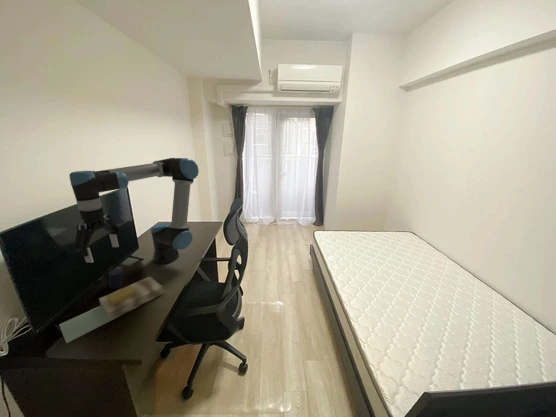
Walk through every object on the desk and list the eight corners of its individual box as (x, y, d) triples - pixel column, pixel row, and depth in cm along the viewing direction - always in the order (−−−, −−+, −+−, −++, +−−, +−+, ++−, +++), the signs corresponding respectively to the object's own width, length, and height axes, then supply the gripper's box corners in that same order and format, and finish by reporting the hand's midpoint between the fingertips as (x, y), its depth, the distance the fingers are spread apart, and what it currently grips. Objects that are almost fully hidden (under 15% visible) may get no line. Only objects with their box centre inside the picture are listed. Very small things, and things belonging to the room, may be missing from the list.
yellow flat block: (130, 289, 106) (129, 285, 105) (135, 294, 102) (134, 290, 102) (108, 299, 99) (107, 295, 98) (112, 305, 95) (111, 301, 95)
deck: (151, 282, 117) (149, 276, 116) (163, 293, 109) (162, 286, 108) (100, 305, 100) (98, 298, 99) (111, 320, 92) (109, 312, 91)
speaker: (103, 288, 112) (101, 270, 109) (112, 282, 118) (111, 265, 115) (116, 291, 111) (115, 273, 109) (125, 284, 117) (124, 267, 114)
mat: (100, 305, 100) (100, 305, 100) (111, 320, 92) (111, 319, 92) (59, 325, 90) (59, 324, 90) (66, 343, 82) (66, 342, 82)
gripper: (107, 200, 103) (117, 241, 110) (50, 218, 79) (68, 269, 86) (122, 200, 103) (131, 241, 109) (69, 219, 79) (85, 270, 85)
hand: (103, 254), depth 97 cm, fingers open, 13 cm apart
